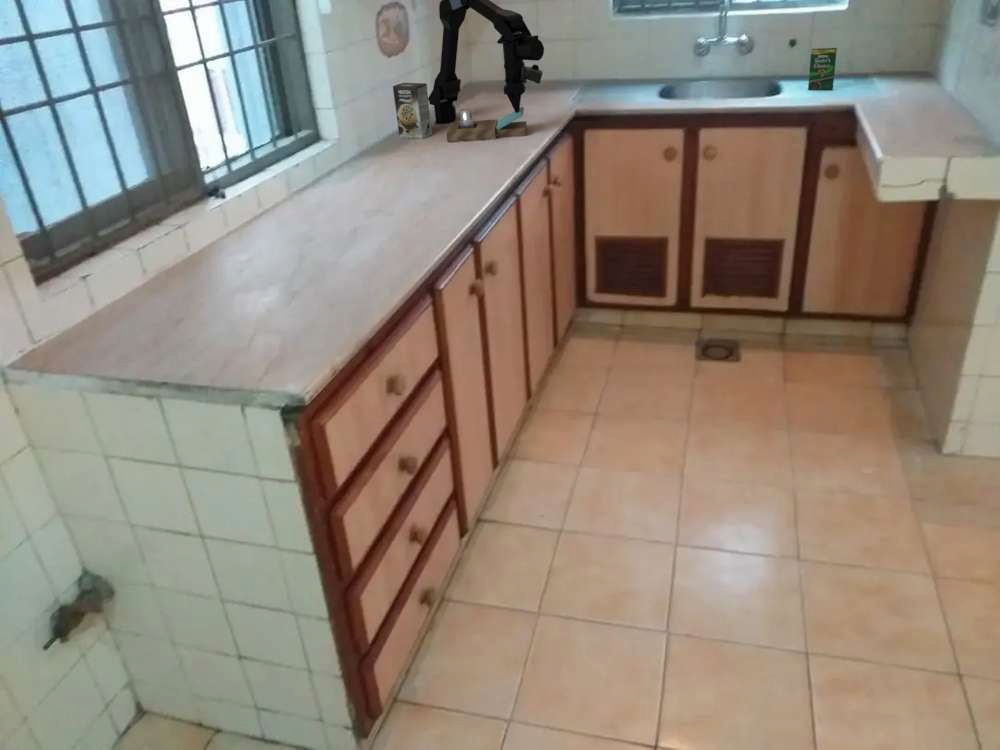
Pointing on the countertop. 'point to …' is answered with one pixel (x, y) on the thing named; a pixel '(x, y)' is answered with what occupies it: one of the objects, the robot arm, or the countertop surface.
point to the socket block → (484, 130)
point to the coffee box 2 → (822, 69)
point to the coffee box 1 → (412, 110)
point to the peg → (467, 118)
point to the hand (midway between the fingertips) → (517, 112)
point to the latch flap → (509, 118)
